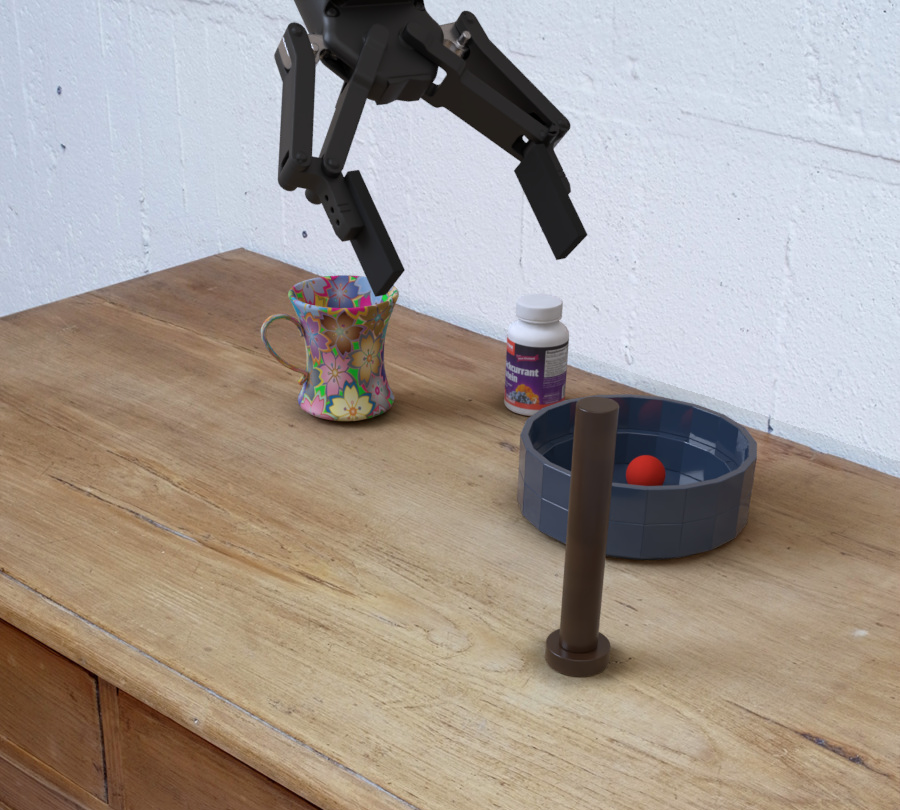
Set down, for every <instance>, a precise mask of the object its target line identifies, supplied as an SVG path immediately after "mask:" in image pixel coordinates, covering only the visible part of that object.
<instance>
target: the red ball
mask: <svg viewBox="0 0 900 810" xmlns="http://www.w3.org/2000/svg"><path fill="white" fill-rule="evenodd" d="M665 475H666V474H665V468H664V466H663V464H662V463H661V462H660V461H659V460H658V459H657V458H655V457H653V456H650V455H642V456H639V457H637V458H635V459H634V460H632V461H631V462H630V464H629V465H628V467H627V470H626V480H627V483H628V484H632V485H641V486H662V485H663V483H664V481H665Z"/></svg>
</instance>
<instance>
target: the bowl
mask: <svg viewBox="0 0 900 810" xmlns="http://www.w3.org/2000/svg"><path fill="white" fill-rule="evenodd" d="M586 397H604V398H608V399H611V400H614V401H615V402H617V403H618V405H619V414H618V425H617V436H616V447H615V458H614V469H613V480H612V492H611V503H610V514H609V525H608V536H607V547H606V557H608V558H612V559H613V558H614V559H622V560H633V561H662V560H664V561H665V560H675V559H680V558H685V557H690V556H694V555H697V554H701V553H705V552H710V551H712V550H714V549H717V548H718V547H721V546H723V545H724V544H727V543H729V542H731V541H733V540H734V539H736V538H737V537H738V535H739V534H740V533H741V532H742V530H744V528H745V527H746V525H747V524H748V520H749V514H750V513H749V512H750V507H751V500H752V495H753V486H754V480H755V475H756V466H757V461H758V442H757V440H755V438H754V437H753V435H752V434H751V433H750V431H749V430H748V429H747V428H746V427H745V426H743V425H742V424H740V423H738V422H737V421H735V420H734V419H733V418H730V417H729V416H728V415H726V414H724V413H722V412H718V411H716V410H713V409H710V408H709V407H708V408H707V407H705V406H702V405H699V404H697V403H692V402H689V401H688V402H687V401H684V400H679V399H674V398H670V397H664V396H654V395H644V394H643V395H642V394H631V393H624V394H623V393H622V394H621V393H619V394H595V395H589V396H588V395H587V396H581V397H576V398H575V397H574V398H569V399H565V400H564V401H561V402H559V403H556V404H553V405H550V406H547V407H544V408H542V409H541V410H539V411H538V412H536V413H535V414H534V415H532V416H529V417H528V418H527V419H526V420H525V422H524V424H523V427H522V429H521V431H520V434H519V454H518V473H517V493H516V500H517V503H518V506H519V509H520V512H521V515H522V516H523V517H524V518H525V519H526V520H527V521H528V522H529V523H530V524H532V525H533V526H534V527H535V529H537V530H538V531H539V532H541V533H542V534H545V535H547V536H548V537H551V538H553V539H554V540H556V541H558V542H560V543H562V544H564V545H566V536H567V522H568V508H569V495H570V481H571V467H572V453H573V439H574V425H575V412H576V403H577V401H578V400H580V399H582V398H586ZM642 455H650V456H653V457H655V458H657V459H658V460H659V461H660V462H661V463H662V464H663V466H664V468H665V474H666V475H665V481H664V483H663V485H662V486H641V485H632V484H628V483H627V480H626V470H627V467H628V465H629V464H630V462H631V461H632V460H634V459H635V458H637V457H639V456H642Z"/></svg>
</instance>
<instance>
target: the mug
mask: <svg viewBox="0 0 900 810" xmlns="http://www.w3.org/2000/svg"><path fill="white" fill-rule="evenodd" d="M287 296H288V300H289V301H290V304H291V305H292V308H293V309H294V312H295V314H296V317H297V318H295V317H293V315H290V314H287V313H281V312H280V313H275V314H272V315H270V316H268V317H267V318H266V319H265V320H264V321H263V322H262V324H261V327H260V337H261V341H262V344H263V345H264V347H265V349H266V350H267V352H268V353H269V354H270V355H271V357H273V359H274V360H276V361H277V362H278V363H280V364H281V365H282V366H284V368H287V369H289V370H291V371H293V372H295V373H299V374H301V376H300V377H299V379H298V380H297V383H298V384H299V385H300V386H302V387H301V389H300V391H299V392H298V393H299V394H298V396H297V403H298V406H299V407H300V409H302V411H304V412H306V413H307V414H309V415H311V416H312V417H313V416H314V417H316V418H319V419H323V420H329V421H335V422H356V421H363V420H368V419H372V418H375V417H378V416H380V415H383V414H384V413H386V412H387V411H389V410H390V409H391V408H392V407H393V405H394V403H395V400H396V399H395V395H394V393H393V391H392V389H391V386H390V384H389V381H388V377H387V373H386V367H385V345H386V337H387V331H388V326H389V323H390V319H391V317H392V314H393V311H394V308H395V306H396V304H397V301H398V299H399V296H400V293H399V290H398V288H397V287H396V286H395V284H394V285H393V286H392V288H391V289H390V290H389V292H388V293H387V294H386V295H382V296H377V297H375V295H374V293H373V291H372V289H371V286H370V284H369V282H368V280H367V278H366V276H365V275H364V276H362V275H350V274H349V275H347V274H345V275H344V274H342V275H341V274H340V275H339V274H338V275H326V276H325V275H324V276H319V277H318V276H317V277H313V278H309V279H305V280H302V281H300V282H298V283H296V284H294V285H292V287H290V289H289V290H288V293H287ZM278 320H286V321H289V322H292V323H293V324H294V326H295V327H296V328H297V331H298V333H299V336H300V337H302V338H303V340H304V346H305V357H306V358H305V359H306V362H305V363H306V364H305V366H306V367H305V369H304V368H302V367H300V366H297V365H294V364H293V363H290V362H288V361H287V360H285V359H283V357H281V356H280V355H279V354H278V353H276V351H275V350H274V349H273V348H272V346H271V344H270V342H269V340H268V337H267V330H268V328H269V326H270V325H271V324H272V323H274V322H276V321H278Z"/></svg>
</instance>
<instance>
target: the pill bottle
mask: <svg viewBox="0 0 900 810" xmlns="http://www.w3.org/2000/svg"><path fill="white" fill-rule="evenodd" d="M515 301H516V302H515V317H516V318H518V319H516V320H514V321H512V322H511V323H510V324H509V326H508V328H507V333H506V353H505V373H504V375H505V376H504V390H503V391H504V392H503V394H504V395H503V397H504V399H503V403H504V405H505V407H506V408H507V409H508V410H509V411H510V412H513V413H515V414H518V415H521V416H526V417H531V416H532V415H534V414H535V413H536V412H538V411H539V410H541V409H542V408H544V407H547V406H550V405H553V404H556V403H559V402H561V401H564V400H566V399H565V398H566V388H567V387H566V386H567V374H568V361H569V360H568V359H569V345H570V332H569V329H568V327H567V325H566V324H564V323H563V322H562V321H560V320H562V318H563V309H564V308H563V307H564V304H563V303H564V301H563V300H562V299H561V298H560V297H559V296H557V295H553V294H550V293H549V294H548V293H541V292H540V293H539V292H537V293H536V292H535V293H534V292H533V293H526V294H522V295H519V296H518V297H517V298H516V300H515Z"/></svg>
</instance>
